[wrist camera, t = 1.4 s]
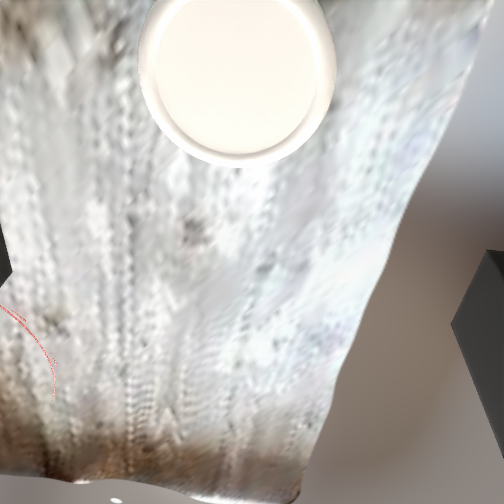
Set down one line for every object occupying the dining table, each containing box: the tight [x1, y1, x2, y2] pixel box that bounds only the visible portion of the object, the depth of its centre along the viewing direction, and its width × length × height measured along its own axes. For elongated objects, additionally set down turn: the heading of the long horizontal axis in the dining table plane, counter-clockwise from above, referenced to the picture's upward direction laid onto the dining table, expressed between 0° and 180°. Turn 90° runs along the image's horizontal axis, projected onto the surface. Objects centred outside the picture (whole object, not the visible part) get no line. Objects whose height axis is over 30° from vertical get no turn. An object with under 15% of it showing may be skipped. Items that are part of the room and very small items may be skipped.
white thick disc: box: [138, 0, 336, 168], centre depth 25 cm, size 10×10×4 cm
